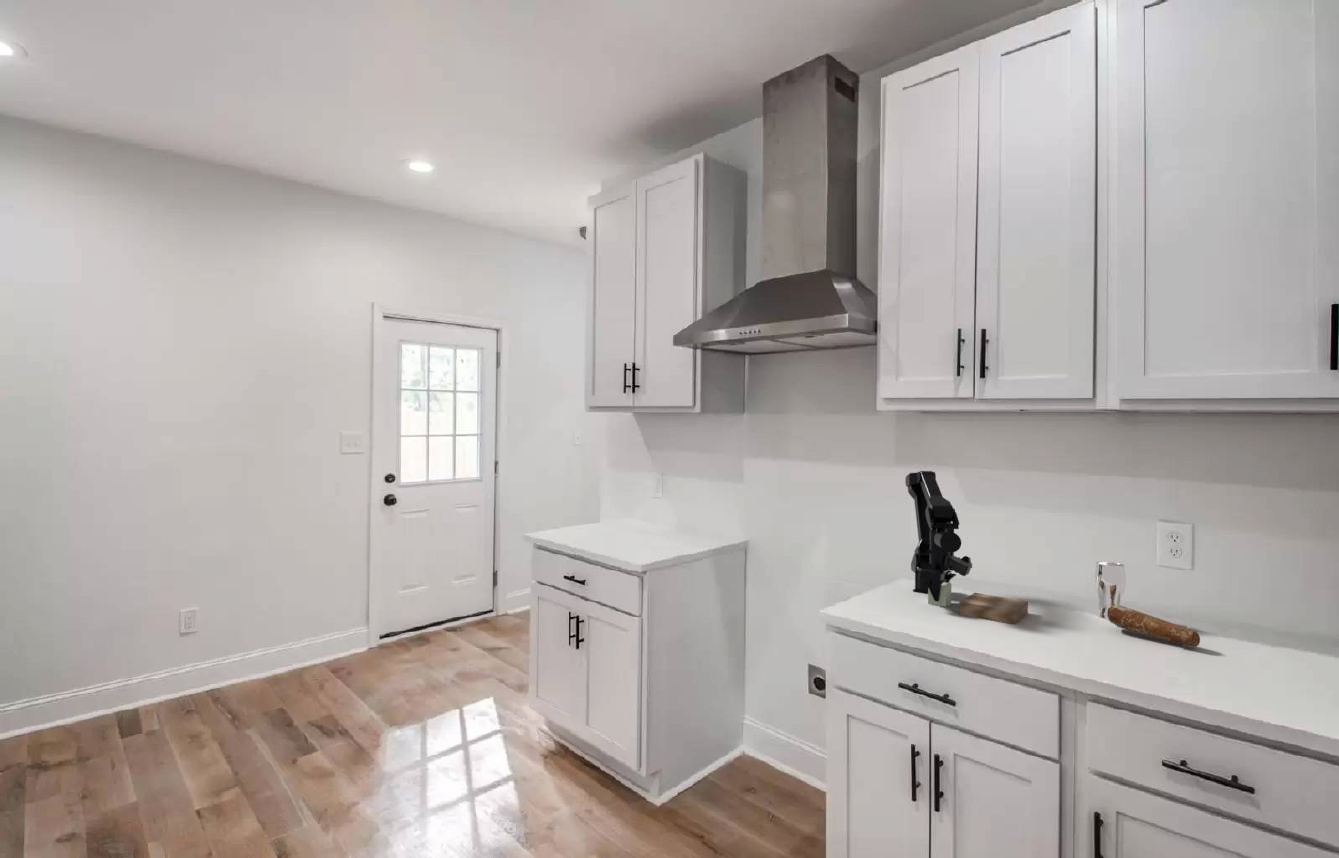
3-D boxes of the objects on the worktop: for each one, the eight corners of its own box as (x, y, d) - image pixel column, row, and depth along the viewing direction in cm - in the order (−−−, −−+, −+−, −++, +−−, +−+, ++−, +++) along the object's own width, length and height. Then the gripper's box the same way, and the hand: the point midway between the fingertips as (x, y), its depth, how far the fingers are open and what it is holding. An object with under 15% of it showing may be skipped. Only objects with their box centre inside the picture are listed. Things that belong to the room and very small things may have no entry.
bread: (1112, 625, 170) (1116, 604, 170) (1202, 649, 153) (1206, 626, 154) (1101, 622, 166) (1105, 601, 167) (1192, 647, 150) (1196, 623, 151)
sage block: (928, 603, 191) (928, 583, 192) (934, 600, 195) (934, 580, 195) (945, 606, 188) (945, 586, 188) (951, 603, 192) (951, 583, 192)
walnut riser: (959, 616, 180) (959, 601, 180) (974, 606, 191) (974, 592, 191) (1015, 626, 171) (1015, 611, 171) (1027, 615, 182) (1027, 601, 182)
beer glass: (1099, 620, 175) (1099, 565, 176) (1091, 614, 182) (1091, 560, 182) (1129, 623, 173) (1129, 567, 174) (1119, 616, 180) (1120, 562, 180)
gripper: (958, 554, 180) (958, 611, 179) (978, 546, 194) (978, 598, 194) (918, 549, 187) (917, 603, 187) (940, 541, 201) (939, 592, 201)
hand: (939, 599), depth 192 cm, fingers closed on sage block, 5 cm apart
